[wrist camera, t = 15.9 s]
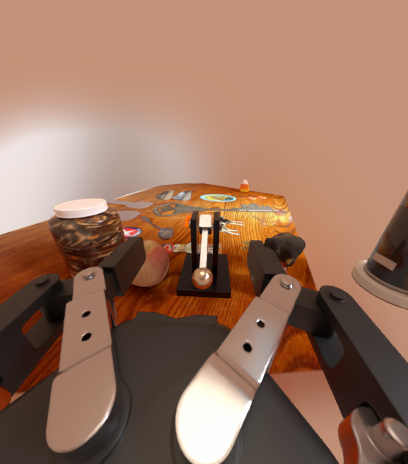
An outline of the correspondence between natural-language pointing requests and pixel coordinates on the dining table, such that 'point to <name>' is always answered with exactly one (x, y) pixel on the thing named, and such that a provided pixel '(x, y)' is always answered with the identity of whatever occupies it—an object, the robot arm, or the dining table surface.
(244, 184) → the candy corn
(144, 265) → the apple
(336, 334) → the robot arm
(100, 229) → the jar
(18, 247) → the dining table surface
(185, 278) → the bracket
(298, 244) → the figurine
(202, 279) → the lever
